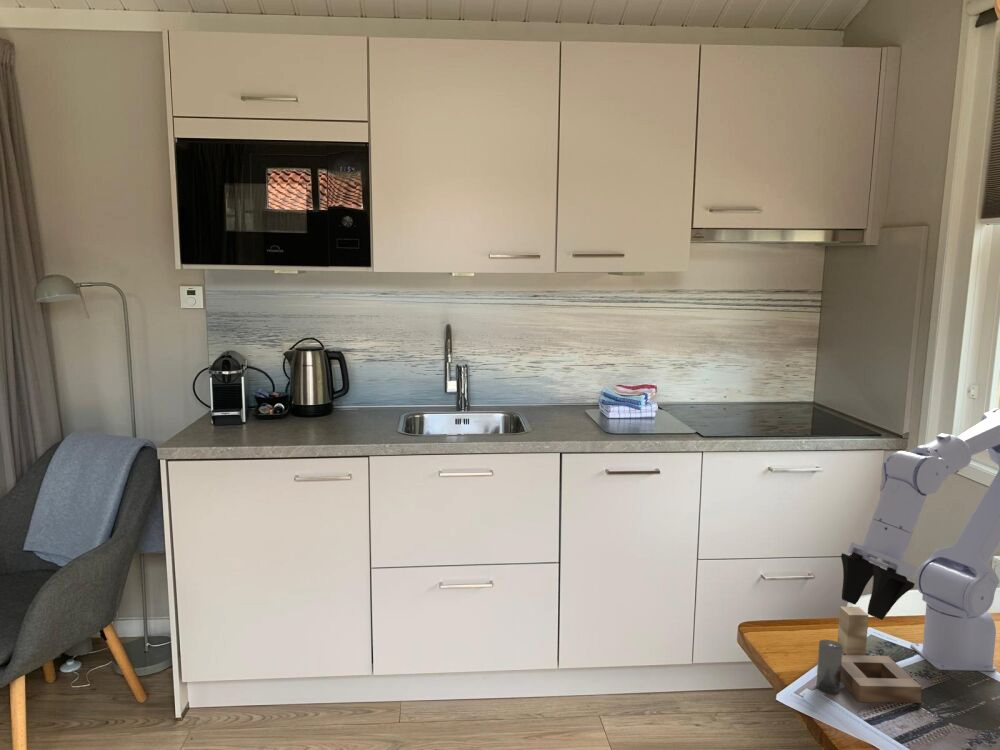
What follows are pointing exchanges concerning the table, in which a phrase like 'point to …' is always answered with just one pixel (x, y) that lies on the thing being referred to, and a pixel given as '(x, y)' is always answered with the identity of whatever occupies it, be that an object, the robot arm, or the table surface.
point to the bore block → (878, 680)
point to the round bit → (829, 666)
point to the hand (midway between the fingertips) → (861, 609)
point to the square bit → (853, 630)
